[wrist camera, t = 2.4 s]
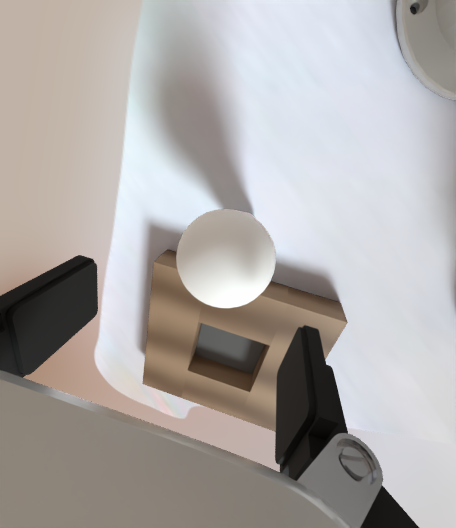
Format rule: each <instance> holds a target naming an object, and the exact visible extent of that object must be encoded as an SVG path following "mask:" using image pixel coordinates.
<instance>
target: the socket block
mask: <svg viewBox="0 0 456 528" xmlns="http://www.w3.org/2000/svg"><path fill="white" fill-rule="evenodd" d="M176 256H177V252H174V251H170V250H167V251H165V252H164V253H163V254H162V255H161V256H160V257H159V258H158V259H156V260H155V261H154V265H153V276H152V287H151V298H150V309H149V320H148V331H147V342H146V353H145V364H144V375H143V384H144V385H147V386H150V387H153V388H156V389H158V390H161V391H164V392H167V393H169V394H172V395H175V396H178V397H181V398H183V399H186V400H189V401H192V402H194V403H197V404H200V405H203V406H206V407H208V408H211V409H214V410H217V411H220V412H222V413H225V414H228V415H231V416H234V417H236V418H239V419H242V420H245V421H248V422H250V423H253V424H256V425H258V426H262V427H264V428H267V429H270V430H272V431H275V432H276V386H277V372H278V369H279V367H280V365H281V362H282V360H283V358H284V356H285V354H286V352H287V350H288V348H289V346H290V343H291V341H292V339H293V337H294V335H295V333H296V331H297V329H298V327H303V326H304V325H307V326H310V327H313V328H317V329H318V330H319V333H320V338H321V343H322V347H323V352H324V357H325V359H326V357H327V356H328V354H329V352H330V351H331V349H332V347H333V346H334V344H335V342H336V341H337V339H338V338H339V336H340V334H341V333H342V331H343V329H344V328H345V326H346V324H347V320H346V317H345V314H344V311H343V308H342V305H341V303H340V302H336V301H333V300H330V299H327V298H323V297H320V296H317V295H314V294H310V293H307V292H304V291H301V290H297V289H294V288H291V287H288V286H284V285H281V284H278V283H275V282H271V281H270V283H269V284H268V286H267V287H266V289H265V290H264V291H263V292H262V293H261V294H260V295H259V296H258V297H257V298H256V299H254V300H253V301H251V302H249V303H248V304H245V305H242V306H239V307H233V308H218V307H213V306H210V305H207V304H205V303H203V302H201V301H199V300H198V299H197V298H195V297H194V296H193V295H192V294H191V293H190V292H189V291H188V290H187V289H186V287H185V286H184V284H183V282H182V280H181V278H180V275H179V273H178V269H177V262H176Z"/></svg>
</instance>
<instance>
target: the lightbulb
mask: <svg viewBox="0 0 456 528" xmlns="http://www.w3.org/2000/svg"><path fill="white" fill-rule="evenodd" d="M176 262H177V269H178V273H179V275H180V278H181V280H182V282H183V284H184V286H185V287H186V289H187V290H188V291H189V292H190V293H191V294H192V295H193V296H194V297H195V298H197V299H198V300H199V301H201V302H203V303H205V304H207V305H210V306H213V307H218V308H233V307H239V306H242V305H245V304H248V303H249V302H251V301H253V300H254V299H256V298H257V297H258V296H259V295H260V294H261V293H262V292H263V291H264V290H265V289H266V287H267V286H268V284H269V283H270V281H271V279H272V276H273V274H274V269H275V264H276V253H275V248H274V244H273V241H272V239H271V237H270V235H269V233H268V231H267V230H266V229H265V228H264V226H263V225H262V224H261V223H260V222H259V221H258V220H256V218H255V217H254V216H253V215H252V214H250V213H248V212H241V211H238V210H232V209H221V210H214V211H210V212H207V213H205V214H203V215H201V216H200V217H198V218H197V219H196V220H194V221H193V222H192V223H191V224H190V225H189V226H188V227H187V229H186V230H185V231H184V233H183V235H182V237H181V239H180V242H179V244H178V249H177V256H176Z"/></svg>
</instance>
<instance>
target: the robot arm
mask: <svg viewBox="0 0 456 528" xmlns="http://www.w3.org/2000/svg"><path fill="white" fill-rule="evenodd" d="M412 6H414V7H415V8H416V14H415V15H414V14H412V13H411V11H410V7H412ZM396 19H397V33H398V39H399V42H400V46H401V50H402V53H403V57H404V59H405V60H406V62H407V64H408V66H409V68H410V69H411V71H412V73H413V75H414V76H415V77H416V78H417V79H418V80H419V81H420V82H421V83H422V84H423V85H424V86H425V87H426V88H428V89H429V90H431V91H433V92H434V93H436V94H438V95H439V96H441V97H444V98H447V99H451V100H454V101H456V0H397V7H396ZM97 311H98V297H97V265H96V264H95V263H94V260H93V259H91V258H87V257H84V256H81V255H79V256H76V257H74V258H73V259H70V260H68V261H66V262H65V263H63V264H61V265H59V266H57V267H55V268H53V269H51V270H49V271H47V272H45V273H43V274H41V275H40V276H38V277H36V278H34V279H32V280H30V281H28V282H26V283H24V284H22V285H20V286H18V287H16V288H15V289H13V290H11V291H9V292H7V293H5V294H3V295H2V296H0V528H419V527H418V526H417V525H416V524H415V522H414V521H413V520H412V519H411V518H410V517H409V516H408V515H407V513H406V512H405V511H404V510H403V509H402V508H401V507H400V505H399V504H398V503H397V502H396V501H395V500H394V499H393V497H392V496H391V495H390V494H389V493H388V492H387V490H386V489H385V488H384V487H383V486H382V482H383V476H382V470H381V467H380V465H379V462H378V460H377V458H376V457H375V455H374V453H373V452H372V451H371V450H370V449H369V448H368V446H367V445H366V444H365V443H363V442H362V441H361V440H360V439H359V438H356V437H355V436H353V435H351V434H348V431H347V427H346V423H345V419H344V415H343V410H342V406H341V402H340V398H339V394H338V389H337V385H336V381H335V377H334V373H333V370H332V368H331V366H329V365H326V361H325V357H324V352H323V347H322V343H321V338H320V333H319V330H318V329H317V328H313V327H310V326H307V325H304V326H303V327H298V329H297V331H296V333H295V335H294V337H293V339H292V341H291V343H290V346H289V348H288V350H287V352H286V354H285V356H284V358H283V360H282V362H281V365H280V367H279V369H278V372H277V386H276V449H275V450H276V451H275V460H276V463H277V464H280V472H277V471H275V470H273V469H271V468H268V467H266V466H264V465H262V464H260V463H257V462H254V461H252V460H249V459H247V458H244V457H241V456H239V455H236V454H233V453H231V452H228V451H226V450H223V449H220V448H218V447H215V446H213V445H210V444H207V443H204V442H201V441H199V440H196V439H193V438H190V437H188V436H185V435H182V434H179V433H177V432H173V431H171V430H168V429H166V428H163V427H160V426H157V425H154V424H152V423H149V422H146V421H144V420H141V419H138V418H135V417H132V416H130V415H126V414H124V413H121V412H118V411H116V410H113V409H110V408H107V407H104V406H101V405H99V404H96V403H93V402H90V401H87V400H84V399H82V398H79V397H76V396H73V395H71V394H67V393H65V392H62V391H59V390H56V389H53V388H50V387H48V386H45V385H42V384H39V383H36V382H33V381H30V380H27V379H25V378H23V377H24V376H25V375H29V374H31V373H32V372H34V371H35V370H36V369H37V368H38V367H39V366H40V365H41V364H43V363H44V362H45V361H46V360H47V359H48V358H49V357H50V356H51V355H52V354H54V353H55V352H56V351H57V350H58V349H59V348H60V347H62V346H63V345H64V344H65V343H66V342H67V341H68V340H69V339H71V337H72V336H74V335H75V334H76V333H77V332H78V331H79V330H80V329H82V328H83V327H84V326H85V325H86V324H87V323H88V322H89V321H91V320H92V319H93V318H94V317H95V315H96V314H97Z"/></svg>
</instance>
